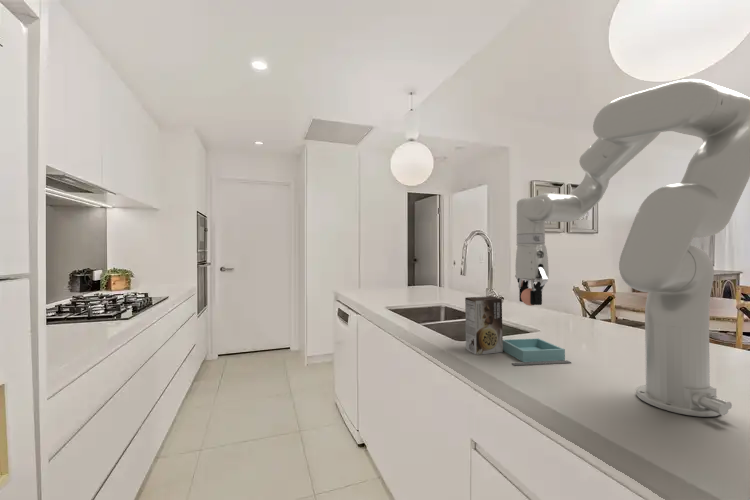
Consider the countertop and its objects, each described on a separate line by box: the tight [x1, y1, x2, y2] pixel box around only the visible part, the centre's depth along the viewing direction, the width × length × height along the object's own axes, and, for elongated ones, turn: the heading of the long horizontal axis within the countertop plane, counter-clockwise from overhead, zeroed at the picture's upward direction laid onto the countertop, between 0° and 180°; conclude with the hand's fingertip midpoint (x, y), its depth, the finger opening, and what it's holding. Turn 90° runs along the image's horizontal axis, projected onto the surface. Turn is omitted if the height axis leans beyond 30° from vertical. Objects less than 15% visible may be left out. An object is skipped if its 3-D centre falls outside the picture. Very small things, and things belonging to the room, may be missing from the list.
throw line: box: [511, 360, 572, 367], centre depth 91 cm, size 2×16×1 cm, turn 97°
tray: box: [503, 337, 566, 363], centre depth 99 cm, size 12×12×3 cm
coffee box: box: [464, 295, 504, 356], centre depth 104 cm, size 9×6×16 cm
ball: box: [521, 287, 533, 306], centre depth 100 cm, size 5×5×5 cm
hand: (530, 302), depth 100 cm, fingers closed on ball, 4 cm apart
